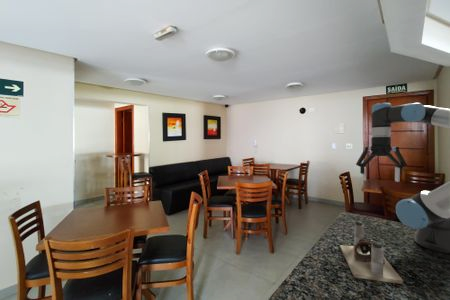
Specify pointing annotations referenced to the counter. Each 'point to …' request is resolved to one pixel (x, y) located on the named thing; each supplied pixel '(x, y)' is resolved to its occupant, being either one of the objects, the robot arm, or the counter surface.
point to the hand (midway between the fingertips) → (380, 181)
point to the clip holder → (369, 269)
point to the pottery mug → (363, 251)
